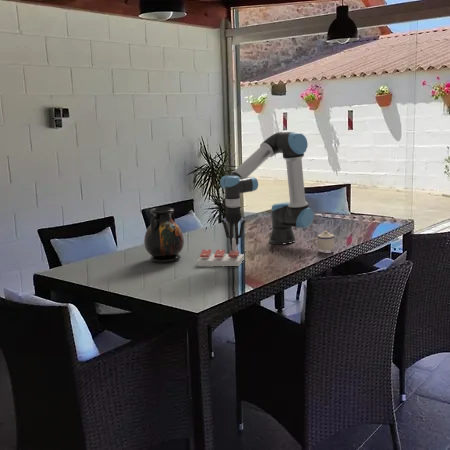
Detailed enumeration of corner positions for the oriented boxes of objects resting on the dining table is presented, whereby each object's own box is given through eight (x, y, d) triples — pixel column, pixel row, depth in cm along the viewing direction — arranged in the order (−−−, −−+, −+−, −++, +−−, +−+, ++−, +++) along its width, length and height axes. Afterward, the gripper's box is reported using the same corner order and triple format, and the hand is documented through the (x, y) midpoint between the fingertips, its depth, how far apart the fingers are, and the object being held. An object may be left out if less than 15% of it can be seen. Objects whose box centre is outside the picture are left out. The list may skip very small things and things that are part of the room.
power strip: (244, 259, 311) (244, 253, 310) (239, 266, 298) (238, 260, 297) (204, 259, 316) (203, 253, 315) (197, 266, 303) (196, 260, 302)
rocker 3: (239, 255, 305) (239, 250, 304) (237, 259, 299) (236, 254, 298) (231, 255, 306) (230, 250, 305) (228, 259, 300) (228, 254, 299)
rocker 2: (225, 254, 307) (225, 249, 306) (222, 260, 301) (222, 255, 300) (217, 254, 308) (216, 249, 307) (214, 260, 302) (214, 255, 301)
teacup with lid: (336, 250, 320) (336, 229, 318) (330, 254, 313) (330, 233, 311) (316, 248, 327) (316, 228, 324) (309, 252, 319) (309, 231, 317)
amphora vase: (169, 267, 303) (165, 214, 298) (137, 263, 315) (133, 211, 309) (193, 257, 321) (190, 206, 315) (162, 253, 332) (158, 204, 327)
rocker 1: (211, 254, 309) (211, 249, 307) (208, 259, 303) (208, 255, 302) (203, 253, 310) (203, 249, 308) (200, 259, 304) (200, 255, 303)
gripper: (218, 207, 298) (220, 252, 304) (244, 207, 295) (246, 252, 301) (221, 204, 305) (223, 248, 311) (247, 204, 302) (248, 248, 308)
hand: (234, 250), depth 306 cm, fingers closed, pressing on rocker 3
